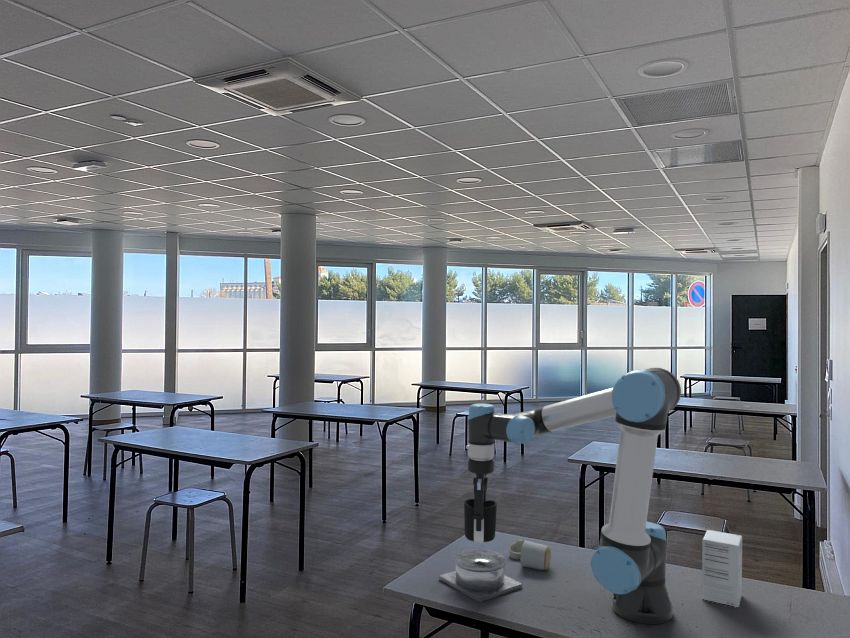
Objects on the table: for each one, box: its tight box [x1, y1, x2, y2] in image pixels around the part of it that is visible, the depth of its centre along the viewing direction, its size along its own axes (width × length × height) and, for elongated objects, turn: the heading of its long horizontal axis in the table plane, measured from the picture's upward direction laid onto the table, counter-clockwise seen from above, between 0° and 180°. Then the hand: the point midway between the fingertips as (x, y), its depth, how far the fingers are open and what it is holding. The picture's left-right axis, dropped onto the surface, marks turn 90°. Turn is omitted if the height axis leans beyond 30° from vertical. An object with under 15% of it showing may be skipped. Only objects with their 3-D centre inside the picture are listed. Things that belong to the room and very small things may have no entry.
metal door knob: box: [438, 548, 523, 603], centre depth 180 cm, size 18×16×7 cm
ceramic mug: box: [519, 540, 552, 571], centre depth 193 cm, size 11×8×8 cm
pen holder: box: [463, 498, 498, 543], centre depth 180 cm, size 9×9×10 cm
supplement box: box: [701, 529, 743, 608], centre depth 172 cm, size 10×9×17 cm
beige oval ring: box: [508, 539, 526, 560], centre depth 201 cm, size 9×6×5 cm
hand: (480, 535), depth 180 cm, fingers closed on pen holder, 9 cm apart
